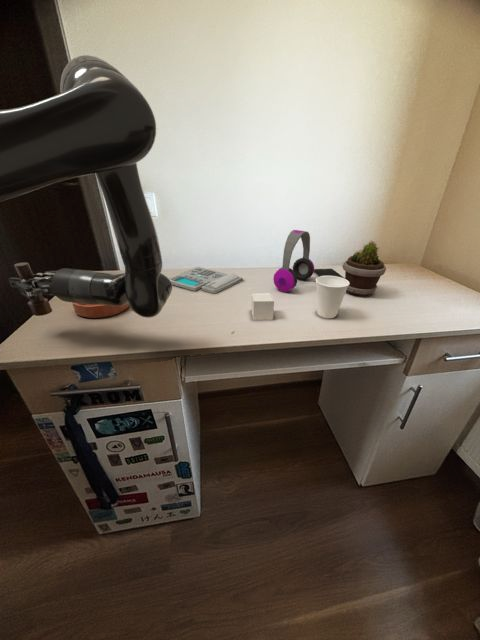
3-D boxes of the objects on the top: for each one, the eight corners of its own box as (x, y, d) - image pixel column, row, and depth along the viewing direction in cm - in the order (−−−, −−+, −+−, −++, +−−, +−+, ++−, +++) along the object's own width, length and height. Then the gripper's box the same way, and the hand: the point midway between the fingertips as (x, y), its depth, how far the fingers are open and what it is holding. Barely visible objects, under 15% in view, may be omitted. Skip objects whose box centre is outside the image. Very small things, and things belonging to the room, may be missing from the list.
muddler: (30, 316, 68) (7, 267, 61) (35, 309, 71) (13, 262, 64) (50, 314, 69) (29, 266, 62) (54, 308, 72) (34, 260, 65)
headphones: (291, 295, 101) (297, 237, 90) (270, 290, 105) (274, 233, 94) (314, 280, 116) (321, 228, 105) (295, 275, 120) (300, 225, 109)
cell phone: (331, 270, 127) (331, 268, 127) (349, 284, 113) (350, 282, 112) (313, 271, 126) (313, 268, 125) (329, 285, 111) (329, 283, 111)
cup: (304, 310, 91) (309, 277, 85) (329, 306, 95) (335, 274, 89) (322, 324, 84) (328, 288, 78) (349, 318, 87) (356, 284, 81)
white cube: (273, 319, 85) (274, 301, 82) (253, 320, 84) (253, 301, 81) (270, 310, 90) (271, 293, 87) (251, 311, 89) (251, 293, 86)
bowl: (71, 322, 79) (66, 309, 77) (80, 301, 91) (76, 289, 89) (129, 315, 84) (126, 303, 82) (131, 296, 96) (128, 285, 94)
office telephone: (243, 274, 112) (211, 289, 97) (243, 280, 113) (212, 296, 98) (197, 263, 121) (162, 275, 106) (198, 269, 122) (163, 282, 107)
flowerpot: (338, 283, 114) (348, 230, 103) (378, 288, 111) (392, 234, 100) (336, 296, 102) (347, 238, 91) (380, 302, 99) (397, 242, 88)
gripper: (99, 261, 67) (36, 256, 70) (52, 281, 56) (-21, 273, 58) (107, 291, 71) (48, 285, 74) (66, 315, 60) (-3, 307, 62)
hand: (18, 280), depth 66 cm, fingers closed on muddler, 2 cm apart
